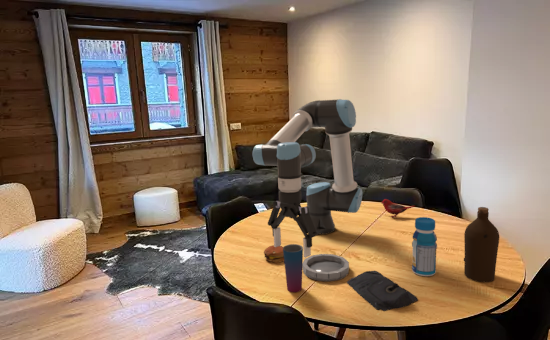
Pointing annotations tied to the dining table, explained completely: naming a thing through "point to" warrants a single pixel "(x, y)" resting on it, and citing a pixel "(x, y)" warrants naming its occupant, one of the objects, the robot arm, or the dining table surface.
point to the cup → (293, 266)
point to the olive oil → (481, 248)
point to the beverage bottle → (424, 247)
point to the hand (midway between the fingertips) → (291, 250)
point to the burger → (274, 254)
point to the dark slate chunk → (381, 291)
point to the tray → (325, 267)
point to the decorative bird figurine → (394, 207)
